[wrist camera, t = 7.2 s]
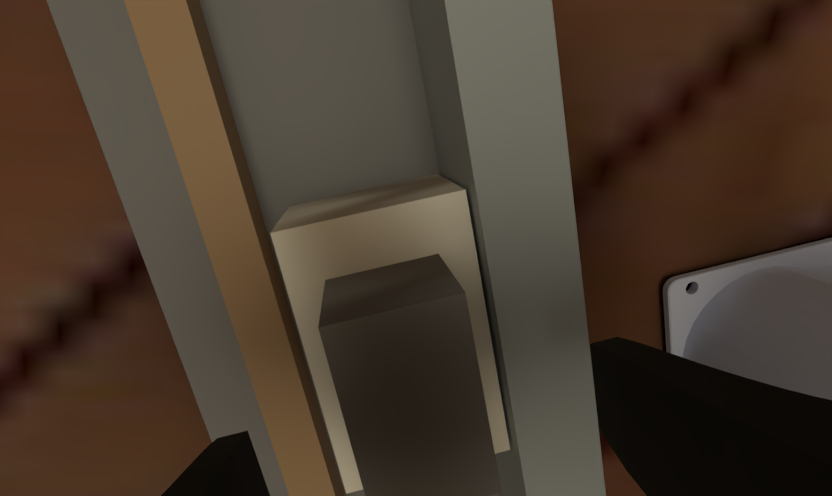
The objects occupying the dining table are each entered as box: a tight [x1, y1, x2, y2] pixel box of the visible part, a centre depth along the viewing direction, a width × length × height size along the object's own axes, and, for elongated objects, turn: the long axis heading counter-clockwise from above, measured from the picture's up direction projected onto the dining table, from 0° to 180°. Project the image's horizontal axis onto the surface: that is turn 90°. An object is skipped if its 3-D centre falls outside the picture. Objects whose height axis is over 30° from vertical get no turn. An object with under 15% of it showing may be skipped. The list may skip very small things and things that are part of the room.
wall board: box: [47, 0, 606, 496], centre depth 15 cm, size 13×28×6 cm, turn 11°
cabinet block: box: [270, 174, 510, 496], centre depth 14 cm, size 5×8×7 cm, turn 11°
